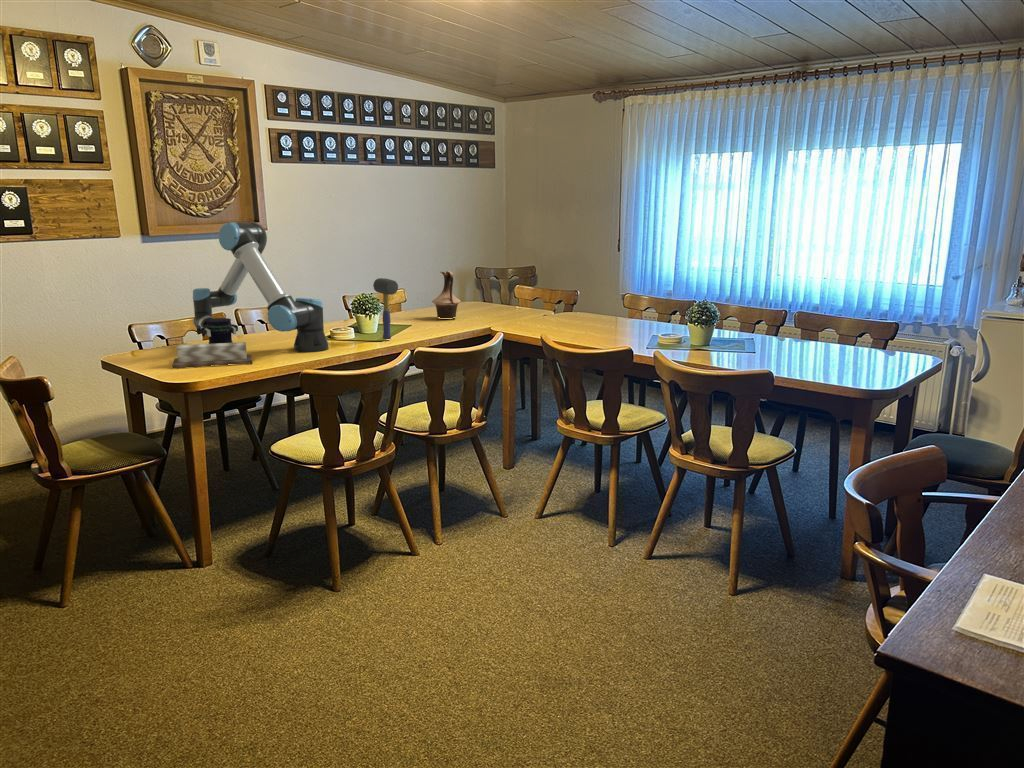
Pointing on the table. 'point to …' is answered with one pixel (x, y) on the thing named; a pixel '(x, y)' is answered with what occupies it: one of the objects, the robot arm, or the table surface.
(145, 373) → the table surface
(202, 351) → the ridge stand
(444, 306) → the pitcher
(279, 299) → the robot arm
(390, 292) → the rubber mallet
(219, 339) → the storage jar
